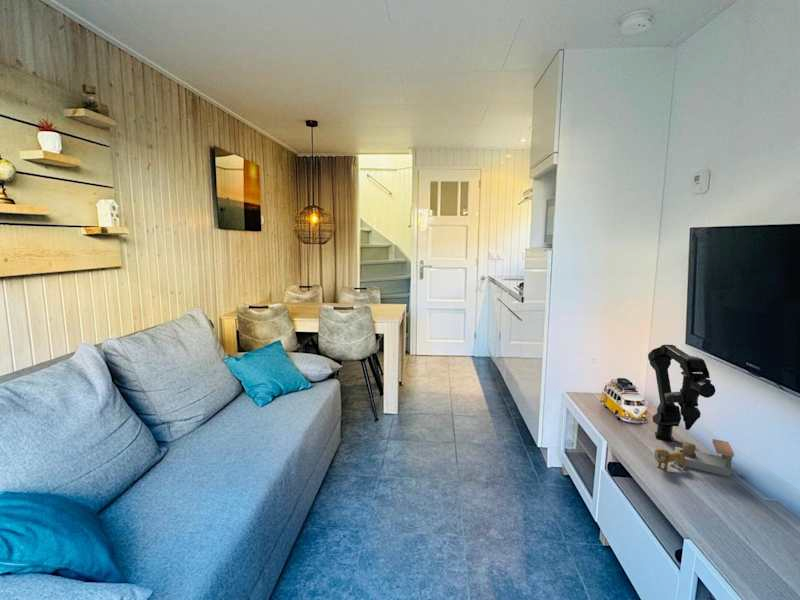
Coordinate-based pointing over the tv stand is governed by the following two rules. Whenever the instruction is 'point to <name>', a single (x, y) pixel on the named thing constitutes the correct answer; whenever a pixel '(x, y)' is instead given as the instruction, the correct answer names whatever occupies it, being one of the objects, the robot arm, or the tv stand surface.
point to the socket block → (706, 462)
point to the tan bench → (724, 451)
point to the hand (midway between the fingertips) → (685, 425)
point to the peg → (688, 449)
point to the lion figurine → (669, 458)
